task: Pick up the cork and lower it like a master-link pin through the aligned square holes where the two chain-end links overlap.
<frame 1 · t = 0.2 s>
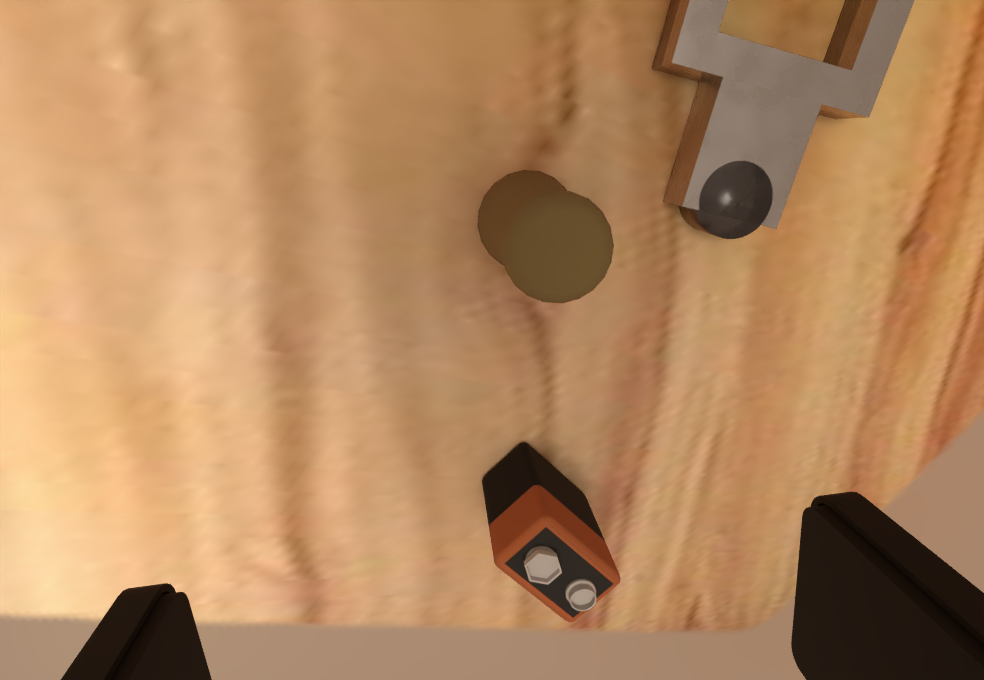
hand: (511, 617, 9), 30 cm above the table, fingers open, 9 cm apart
battery: (533, 485, 43), on the table
cork: (526, 220, 37), on the table
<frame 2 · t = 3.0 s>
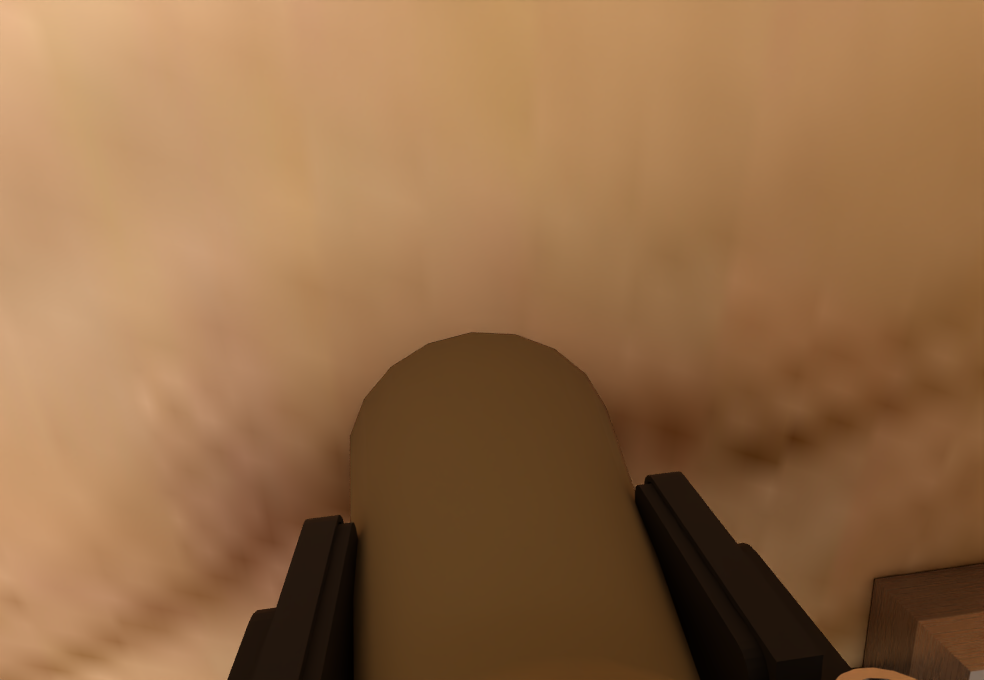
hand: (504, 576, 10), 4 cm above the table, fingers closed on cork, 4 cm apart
cork: (482, 454, 14), on the table, touching gripper
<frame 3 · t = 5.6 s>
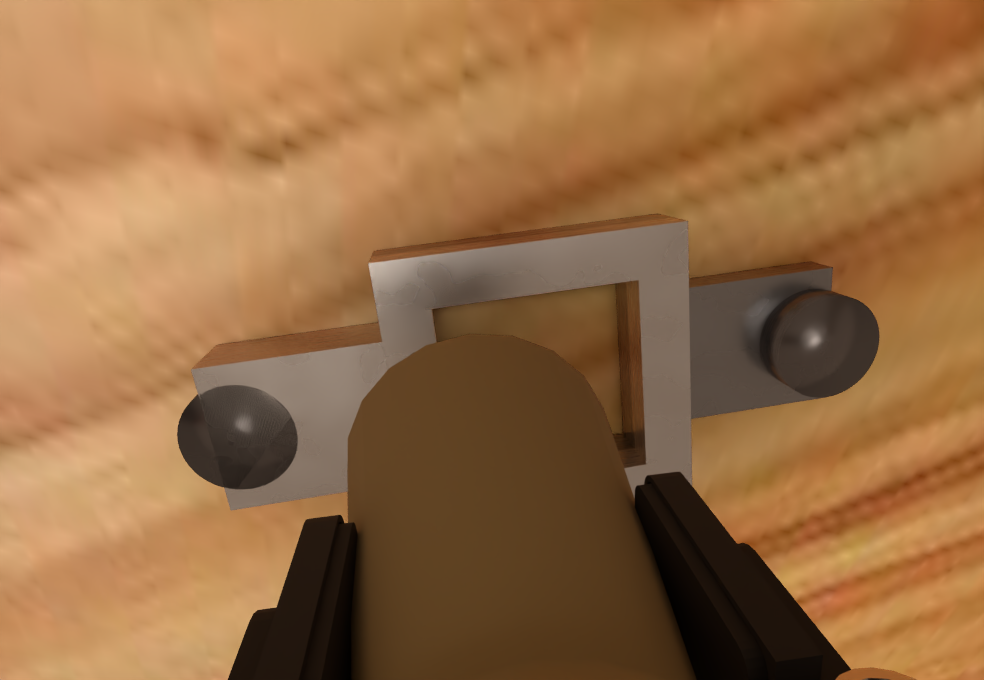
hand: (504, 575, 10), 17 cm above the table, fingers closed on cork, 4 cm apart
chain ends: (531, 366, 27), on the table
cork: (480, 455, 14), point 13 cm above the table, touching gripper
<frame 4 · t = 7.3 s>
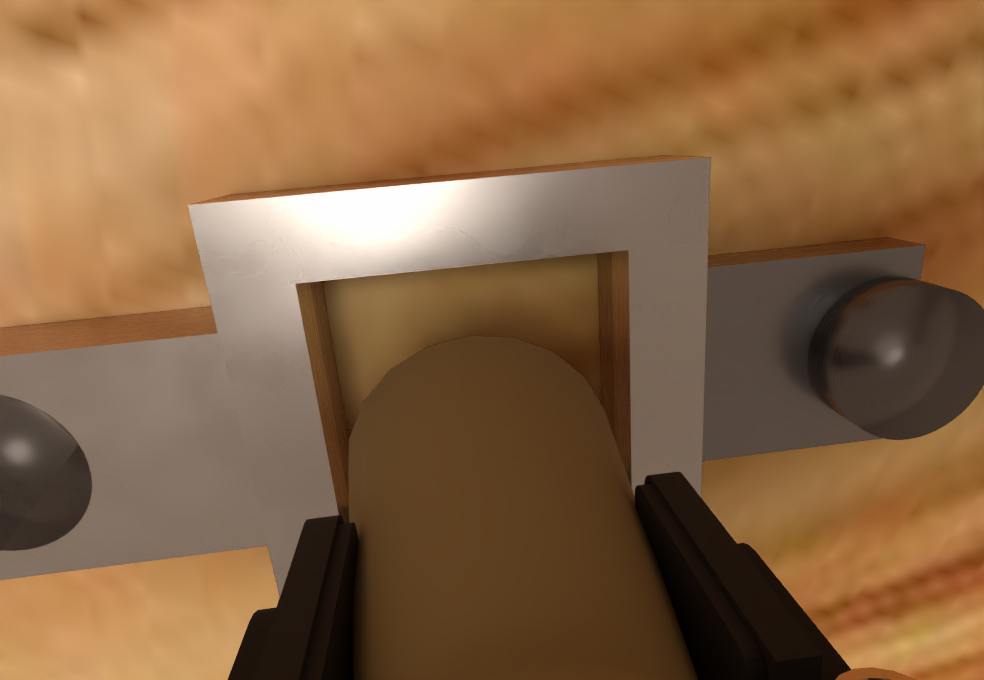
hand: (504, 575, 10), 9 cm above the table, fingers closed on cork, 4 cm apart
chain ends: (472, 376, 19), on the table
cork: (481, 457, 14), point 5 cm above the table, touching gripper
when the fingers open (5 cm above the table, at t = 8.4 s): cork drops 1 cm, resting in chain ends.
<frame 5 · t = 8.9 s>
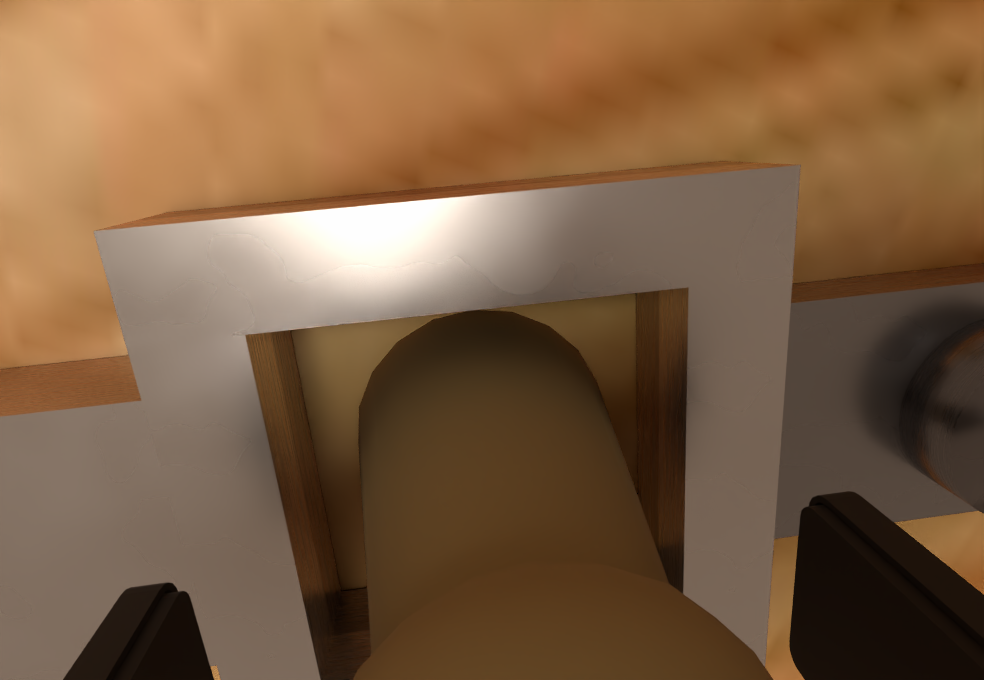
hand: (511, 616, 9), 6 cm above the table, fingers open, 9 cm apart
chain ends: (479, 435, 15), on the table
cork: (481, 425, 15), resting in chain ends
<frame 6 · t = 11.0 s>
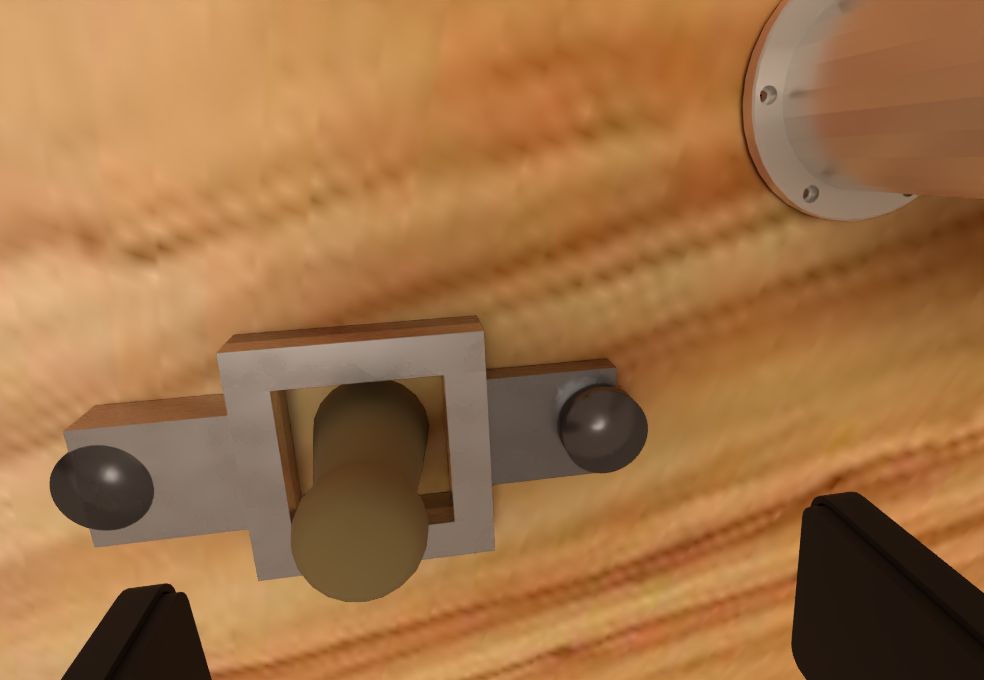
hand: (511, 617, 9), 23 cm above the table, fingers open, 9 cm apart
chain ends: (370, 433, 32), on the table
cork: (371, 428, 33), resting in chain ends
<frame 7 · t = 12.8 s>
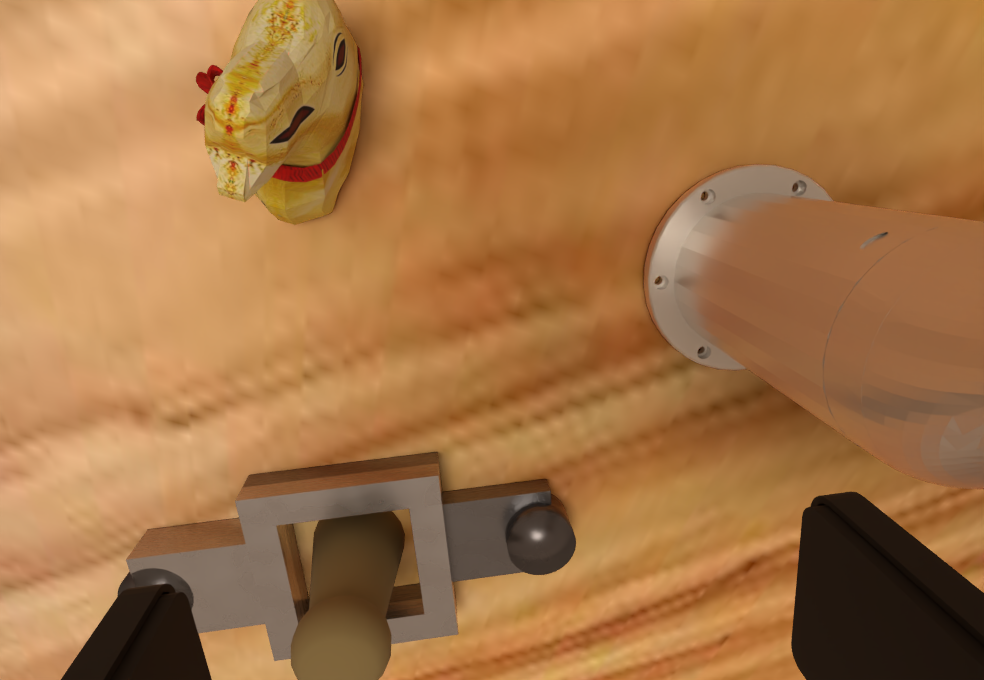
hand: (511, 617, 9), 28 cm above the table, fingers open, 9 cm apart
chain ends: (358, 542, 41), on the table
chocolate bunny: (302, 115, 33), on the table
cork: (359, 537, 41), resting in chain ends
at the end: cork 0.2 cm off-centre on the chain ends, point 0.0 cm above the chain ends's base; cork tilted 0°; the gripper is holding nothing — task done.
